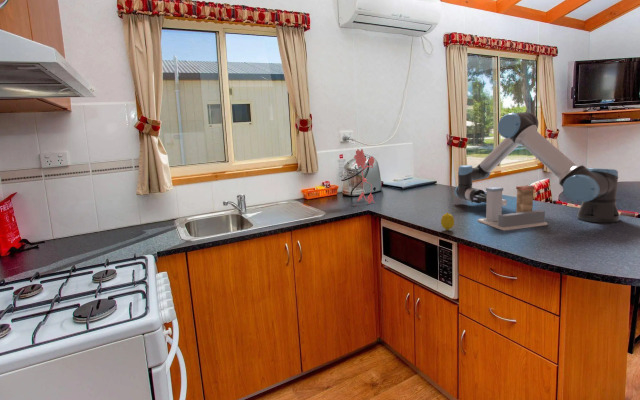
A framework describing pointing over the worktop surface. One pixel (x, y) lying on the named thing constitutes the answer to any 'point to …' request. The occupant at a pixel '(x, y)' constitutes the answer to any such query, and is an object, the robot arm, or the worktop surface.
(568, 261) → the worktop surface
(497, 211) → the grey tall block
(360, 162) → the red flowering branch
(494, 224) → the switch base
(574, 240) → the worktop surface
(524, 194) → the beige wooden tall block
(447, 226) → the lemon
